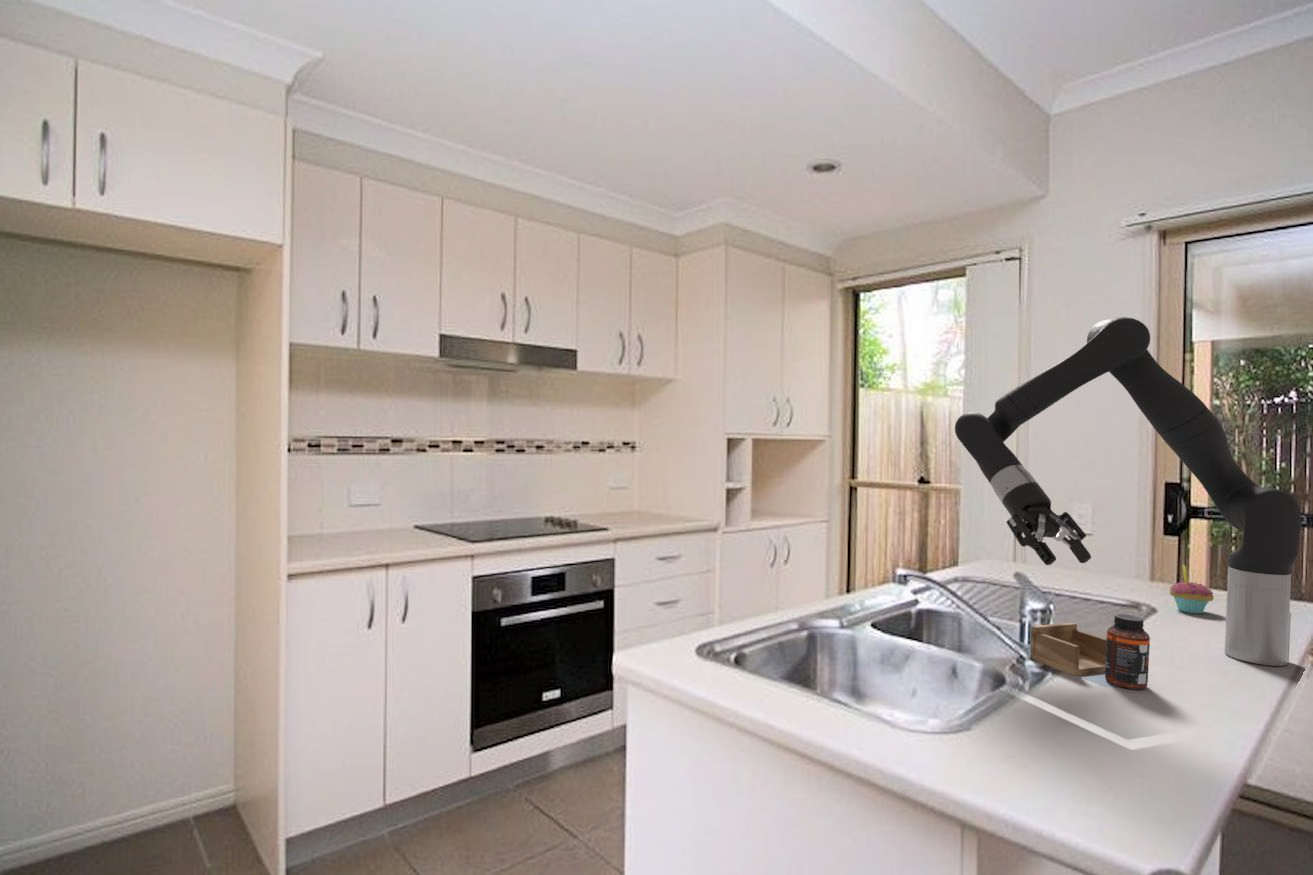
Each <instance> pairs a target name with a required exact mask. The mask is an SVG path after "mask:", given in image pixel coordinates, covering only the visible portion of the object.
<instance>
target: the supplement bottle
mask: <svg viewBox="0 0 1313 875" xmlns="http://www.w3.org/2000/svg"><path fill="white" fill-rule="evenodd" d="M1113 622H1114V624H1113V625H1111V626H1109V627H1108V628H1107V631H1106V639H1107V641H1106V663H1105V672H1104V674H1105V678H1106V680H1107V681H1108V682H1110V683H1112V684H1114V685H1116V686H1117V687H1119V688H1123V689H1128V690H1136V691H1137V690H1140V691H1141V690H1144V689H1146V688H1147V687H1148V682H1149V665H1150V664H1149V662H1150V641H1151V637H1150V634H1149V633H1148V632H1146V631H1145V629H1144V619H1143V618H1142V617H1139V616H1137V615H1133V614H1132V615H1131V614H1126V613H1125V614H1124V613H1116V614H1114V620H1113Z"/></svg>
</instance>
